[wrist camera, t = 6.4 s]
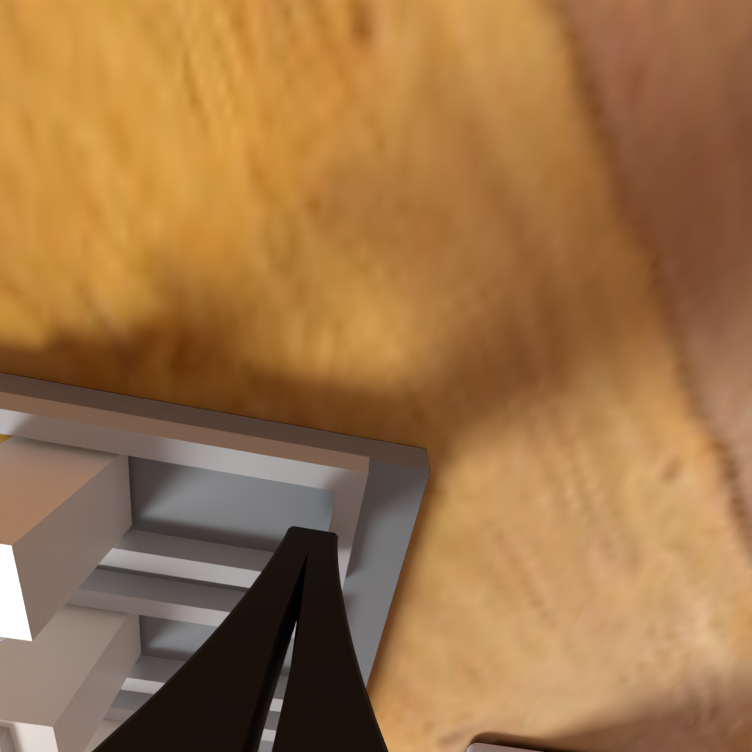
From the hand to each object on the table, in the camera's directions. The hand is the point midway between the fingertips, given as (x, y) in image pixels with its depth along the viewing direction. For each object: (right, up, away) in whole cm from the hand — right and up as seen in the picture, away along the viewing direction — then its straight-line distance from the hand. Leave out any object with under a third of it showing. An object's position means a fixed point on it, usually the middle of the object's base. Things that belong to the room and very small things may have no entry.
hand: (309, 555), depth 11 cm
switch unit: (-6, -4, +5) cm, 8 cm away
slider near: (-7, +2, +1) cm, 8 cm away
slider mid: (-8, -4, +3) cm, 10 cm away
